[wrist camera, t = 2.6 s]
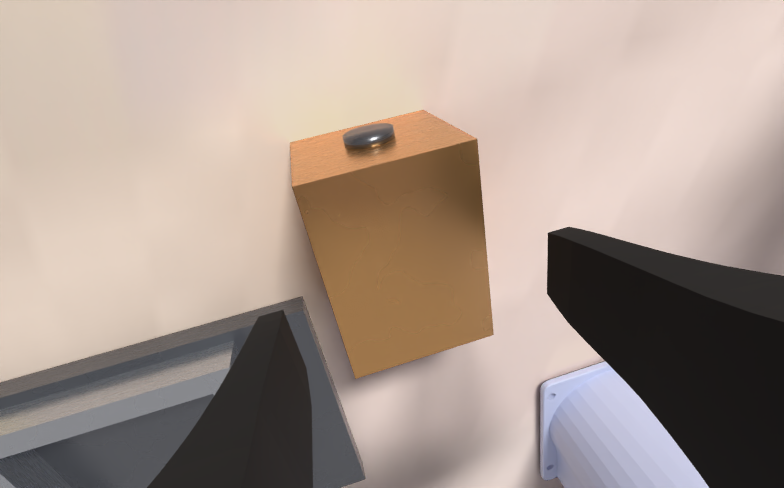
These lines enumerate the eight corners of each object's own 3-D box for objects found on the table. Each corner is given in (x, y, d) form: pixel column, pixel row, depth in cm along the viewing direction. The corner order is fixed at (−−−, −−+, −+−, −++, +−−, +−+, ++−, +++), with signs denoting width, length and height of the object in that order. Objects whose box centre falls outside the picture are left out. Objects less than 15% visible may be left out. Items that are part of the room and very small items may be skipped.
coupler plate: (362, 462, 23) (370, 506, 21) (68, 562, 21) (44, 621, 19) (302, 296, 17) (304, 333, 15) (-110, 414, 15) (-174, 475, 13)
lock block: (444, 264, 19) (493, 334, 14) (338, 296, 18) (355, 378, 14) (421, 100, 15) (476, 127, 11) (287, 133, 14) (288, 176, 10)
